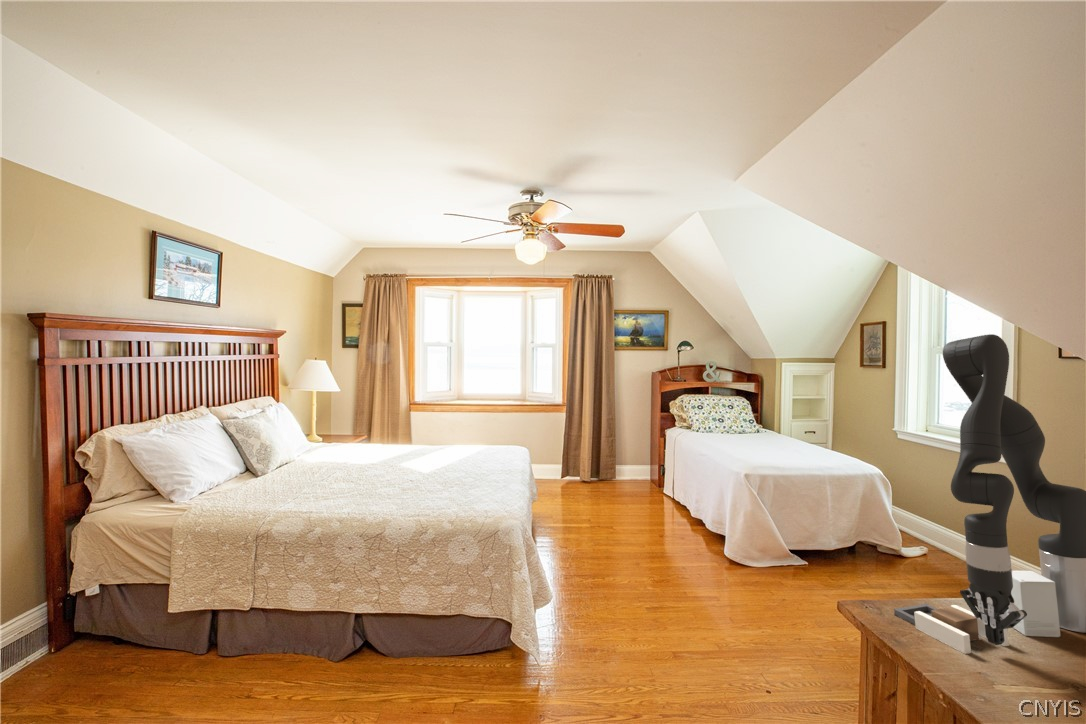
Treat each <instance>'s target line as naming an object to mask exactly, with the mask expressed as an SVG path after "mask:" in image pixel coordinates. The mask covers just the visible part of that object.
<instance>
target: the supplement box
mask: <svg viewBox="0 0 1086 724" xmlns="http://www.w3.org/2000/svg"><path fill="white" fill-rule="evenodd" d="M1012 580H1013V588H1012V591H1011V594H1012V597H1013V598H1014V604H1015V605H1016V606H1017V607H1018V608H1019V609H1020V610H1024V611H1026V613H1027V616H1026V617H1025V618H1024V619H1022V620H1021V621H1020V622H1019V623H1018V624H1017V625H1015V626H1014V627H1013V628H1012V629H1015V630H1016V631H1018V632H1019V633H1020V634H1022V635H1023V636H1026V637H1041V638H1042V637H1046V638H1050V637H1051V638H1060V637H1061V629H1060V628H1061V627H1060V626H1059V616H1058V607H1057V597H1056V587H1055V582H1054V581H1052V580H1050V579H1047V578H1045V577H1043V576H1041V574H1040V573H1038V572H1035V571H1033V570H1012ZM1008 610H1009V609H1008ZM1008 610H1007V612H1008ZM1008 615H1009V614H1007V616H1008ZM1007 616H1006V617H1007Z"/></svg>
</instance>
